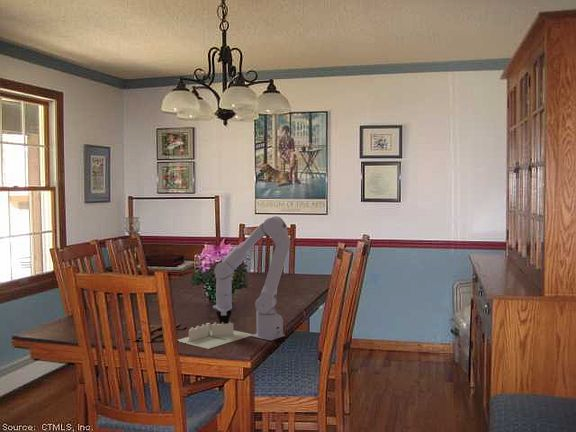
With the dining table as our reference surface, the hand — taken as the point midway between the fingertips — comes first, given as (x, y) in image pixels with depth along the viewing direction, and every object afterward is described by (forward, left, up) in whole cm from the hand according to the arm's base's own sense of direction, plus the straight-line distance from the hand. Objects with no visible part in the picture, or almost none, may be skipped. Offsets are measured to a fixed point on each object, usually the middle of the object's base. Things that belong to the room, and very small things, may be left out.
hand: (223, 330), depth 215 cm
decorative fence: (+22, +14, -3) cm, 26 cm away
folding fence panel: (-1, +1, -1) cm, 2 cm away
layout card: (-1, +5, -2) cm, 5 cm away
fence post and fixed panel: (+3, +9, -1) cm, 10 cm away
